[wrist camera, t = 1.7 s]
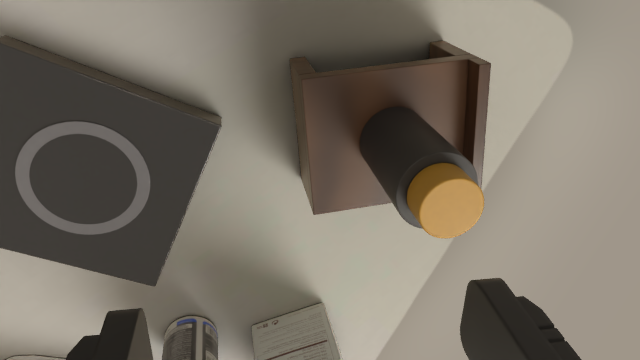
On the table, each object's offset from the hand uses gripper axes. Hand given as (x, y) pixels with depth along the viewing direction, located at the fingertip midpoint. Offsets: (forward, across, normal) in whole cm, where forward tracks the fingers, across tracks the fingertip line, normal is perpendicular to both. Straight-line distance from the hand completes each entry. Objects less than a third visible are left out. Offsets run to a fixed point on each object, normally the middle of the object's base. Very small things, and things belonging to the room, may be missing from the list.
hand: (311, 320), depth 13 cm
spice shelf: (+28, -8, +5) cm, 30 cm away
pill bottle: (+27, +8, +25) cm, 38 cm away
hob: (+27, +13, +8) cm, 31 cm away
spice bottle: (+22, -9, +5) cm, 24 cm away
